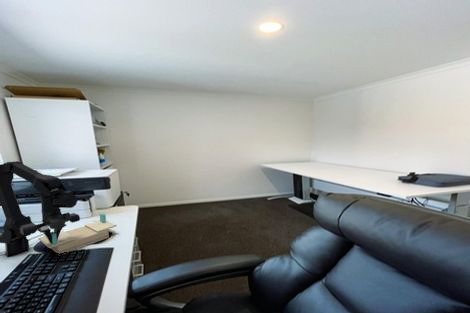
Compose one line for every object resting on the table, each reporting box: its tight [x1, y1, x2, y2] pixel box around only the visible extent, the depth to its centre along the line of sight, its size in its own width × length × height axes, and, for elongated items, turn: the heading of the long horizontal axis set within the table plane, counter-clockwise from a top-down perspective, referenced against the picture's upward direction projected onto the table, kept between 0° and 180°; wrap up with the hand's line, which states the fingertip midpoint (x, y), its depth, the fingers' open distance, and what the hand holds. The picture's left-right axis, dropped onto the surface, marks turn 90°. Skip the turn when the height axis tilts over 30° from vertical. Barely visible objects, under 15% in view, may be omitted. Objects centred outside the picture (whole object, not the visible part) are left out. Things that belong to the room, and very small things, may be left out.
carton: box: [50, 225, 110, 255], centre depth 103 cm, size 20×16×4 cm
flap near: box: [38, 230, 75, 249], centre depth 96 cm, size 9×15×5 cm, turn 56°
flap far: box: [84, 212, 118, 232], centre depth 111 cm, size 9×15×5 cm, turn 56°
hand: (53, 242), depth 91 cm, fingers closed on flap near
